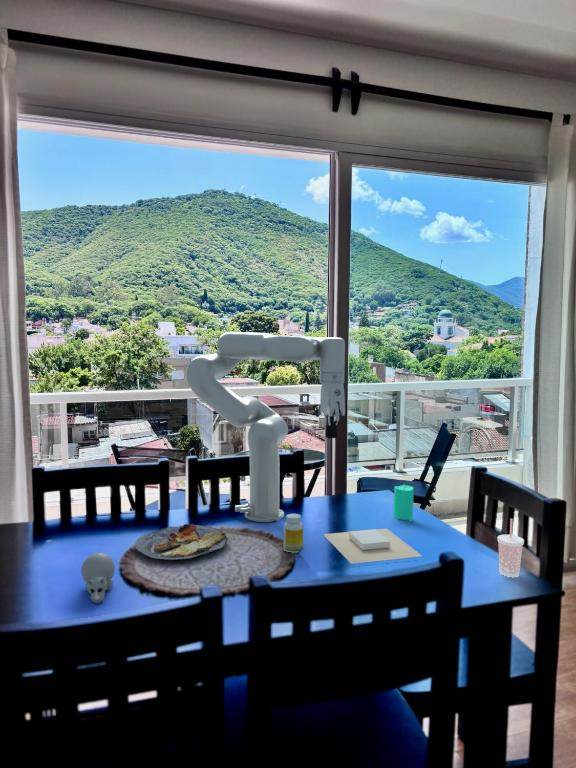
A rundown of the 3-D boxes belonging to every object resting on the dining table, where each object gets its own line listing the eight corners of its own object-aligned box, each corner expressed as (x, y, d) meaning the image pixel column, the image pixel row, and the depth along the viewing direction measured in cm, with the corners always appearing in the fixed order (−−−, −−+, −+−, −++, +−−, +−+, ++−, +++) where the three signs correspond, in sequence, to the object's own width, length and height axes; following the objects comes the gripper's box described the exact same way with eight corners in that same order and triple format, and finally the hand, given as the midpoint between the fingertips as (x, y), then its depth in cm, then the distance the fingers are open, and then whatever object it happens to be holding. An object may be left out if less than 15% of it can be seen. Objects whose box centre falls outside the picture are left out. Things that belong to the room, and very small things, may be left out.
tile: (348, 538, 164) (362, 551, 154) (348, 531, 164) (362, 544, 154) (374, 536, 166) (390, 548, 156) (374, 529, 166) (390, 541, 156)
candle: (411, 517, 186) (412, 480, 185) (413, 523, 180) (414, 485, 179) (392, 516, 187) (393, 480, 186) (394, 522, 181) (395, 485, 180)
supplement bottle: (280, 548, 159) (280, 514, 158) (297, 545, 161) (297, 511, 160) (288, 555, 154) (289, 520, 153) (306, 551, 156) (306, 517, 155)
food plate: (194, 525, 176) (194, 514, 176) (244, 546, 160) (244, 534, 159) (120, 549, 159) (119, 536, 158) (167, 575, 142) (166, 562, 142)
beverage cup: (508, 580, 139) (511, 524, 138) (490, 571, 144) (492, 516, 143) (528, 576, 141) (530, 521, 140) (509, 567, 147) (511, 513, 146)
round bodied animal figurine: (79, 616, 126) (75, 587, 122) (84, 574, 136) (81, 547, 132) (113, 612, 127) (111, 583, 123) (116, 571, 137) (114, 544, 134)
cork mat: (351, 567, 146) (351, 563, 146) (323, 537, 167) (323, 534, 167) (422, 559, 151) (422, 556, 151) (386, 531, 172) (386, 528, 172)
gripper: (352, 379, 169) (351, 441, 171) (335, 376, 183) (334, 433, 185) (328, 380, 167) (327, 442, 169) (312, 376, 181) (311, 434, 183)
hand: (331, 437), depth 177 cm, fingers closed
